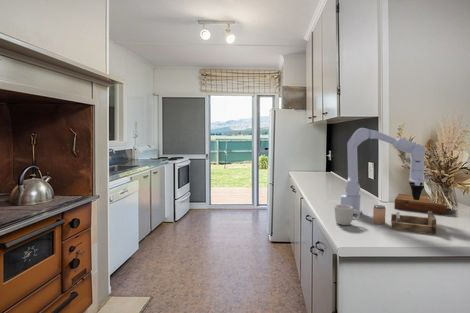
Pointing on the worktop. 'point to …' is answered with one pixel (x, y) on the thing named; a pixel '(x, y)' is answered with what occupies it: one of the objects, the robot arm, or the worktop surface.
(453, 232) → the worktop surface
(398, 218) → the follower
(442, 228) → the worktop surface
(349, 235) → the worktop surface
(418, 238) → the worktop surface
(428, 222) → the brown wooden frame
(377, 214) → the jar
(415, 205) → the brown wooden flat block
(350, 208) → the cup
